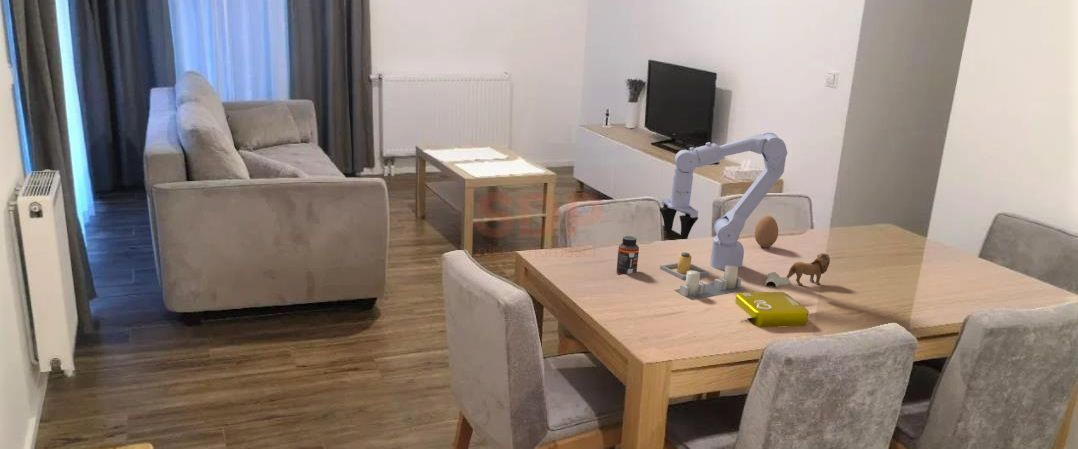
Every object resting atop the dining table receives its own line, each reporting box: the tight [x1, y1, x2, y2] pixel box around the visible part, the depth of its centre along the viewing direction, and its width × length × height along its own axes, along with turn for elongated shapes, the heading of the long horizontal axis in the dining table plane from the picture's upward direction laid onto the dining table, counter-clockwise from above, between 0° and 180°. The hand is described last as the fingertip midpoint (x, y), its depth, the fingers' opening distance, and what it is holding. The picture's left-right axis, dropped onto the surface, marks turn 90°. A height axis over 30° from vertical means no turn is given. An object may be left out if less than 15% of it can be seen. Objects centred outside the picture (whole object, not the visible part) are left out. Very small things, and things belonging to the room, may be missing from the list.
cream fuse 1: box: [684, 270, 701, 296], centre depth 235 cm, size 4×4×6 cm
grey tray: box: [659, 262, 709, 280], centre depth 253 cm, size 10×10×2 cm
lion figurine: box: [786, 252, 831, 286], centre depth 253 cm, size 15×5×9 cm, turn 112°
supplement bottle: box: [616, 235, 640, 276], centre depth 251 cm, size 6×6×11 cm
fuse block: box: [673, 275, 747, 301], centre depth 239 cm, size 20×8×4 cm, turn 121°
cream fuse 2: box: [723, 264, 739, 289], centre depth 242 cm, size 4×4×6 cm
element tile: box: [734, 291, 810, 328], centre depth 227 cm, size 15×15×5 cm
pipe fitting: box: [764, 271, 791, 289], centre depth 248 cm, size 8×4×7 cm
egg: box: [754, 215, 779, 249], centre depth 286 cm, size 8×8×11 cm
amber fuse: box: [676, 252, 693, 275], centre depth 252 cm, size 4×4×7 cm
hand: (676, 234), depth 258 cm, fingers open, 7 cm apart
